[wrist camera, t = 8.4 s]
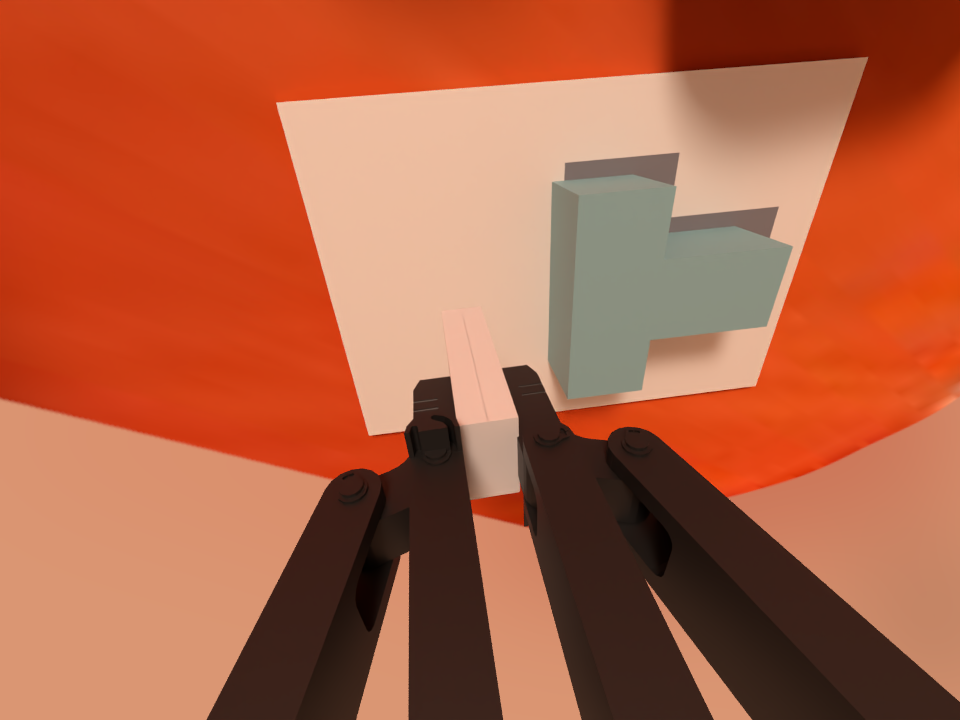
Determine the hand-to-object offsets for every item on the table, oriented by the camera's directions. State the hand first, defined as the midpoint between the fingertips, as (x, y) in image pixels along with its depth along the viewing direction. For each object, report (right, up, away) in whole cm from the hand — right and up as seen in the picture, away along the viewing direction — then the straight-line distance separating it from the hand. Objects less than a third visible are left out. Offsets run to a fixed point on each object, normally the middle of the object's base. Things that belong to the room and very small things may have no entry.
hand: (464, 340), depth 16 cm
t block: (+9, +4, +6) cm, 12 cm away
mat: (+6, +4, +7) cm, 10 cm away
